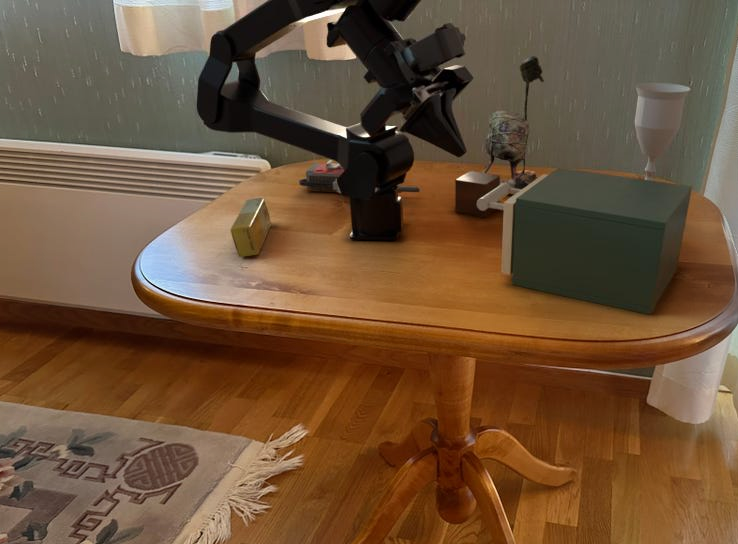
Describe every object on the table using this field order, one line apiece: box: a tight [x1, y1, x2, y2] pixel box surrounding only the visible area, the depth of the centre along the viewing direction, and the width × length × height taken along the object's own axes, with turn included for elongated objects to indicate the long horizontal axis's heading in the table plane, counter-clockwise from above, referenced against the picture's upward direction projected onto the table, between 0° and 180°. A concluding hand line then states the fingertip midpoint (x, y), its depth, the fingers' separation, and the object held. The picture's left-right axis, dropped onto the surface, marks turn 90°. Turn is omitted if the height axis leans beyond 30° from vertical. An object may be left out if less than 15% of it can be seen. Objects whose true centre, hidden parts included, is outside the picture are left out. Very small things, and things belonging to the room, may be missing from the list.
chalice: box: [634, 82, 691, 181], centre depth 97 cm, size 7×7×18 cm
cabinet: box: [511, 167, 693, 316], centre depth 80 cm, size 17×14×11 cm
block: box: [454, 170, 501, 218], centre depth 102 cm, size 5×5×5 cm
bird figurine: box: [482, 54, 544, 189], centre depth 107 cm, size 8×11×20 cm
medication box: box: [229, 197, 272, 258], centre depth 91 cm, size 12×3×4 cm, turn 6°
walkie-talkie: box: [299, 159, 420, 194], centre depth 110 cm, size 9×4×20 cm
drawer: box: [477, 173, 549, 276], centre depth 82 cm, size 20×12×9 cm, turn 63°
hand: (463, 154), depth 83 cm, fingers closed
